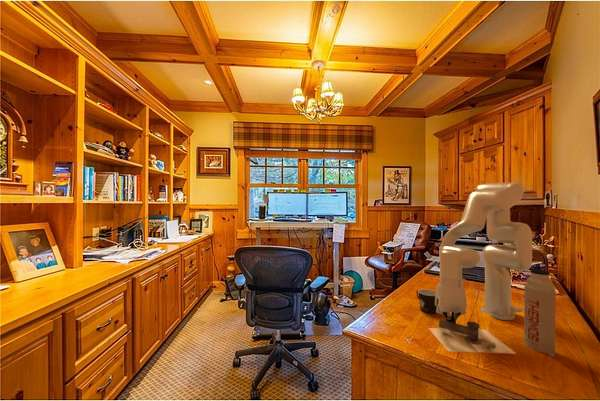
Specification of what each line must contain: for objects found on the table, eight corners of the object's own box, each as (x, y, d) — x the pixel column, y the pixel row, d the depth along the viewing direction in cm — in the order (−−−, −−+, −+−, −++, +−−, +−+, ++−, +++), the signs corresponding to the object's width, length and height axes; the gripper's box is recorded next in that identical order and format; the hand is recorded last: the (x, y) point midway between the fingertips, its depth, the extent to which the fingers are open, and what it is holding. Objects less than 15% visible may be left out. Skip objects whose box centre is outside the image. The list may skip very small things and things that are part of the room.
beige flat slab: (486, 333, 104) (486, 328, 104) (516, 358, 88) (516, 351, 88) (428, 331, 105) (428, 326, 105) (448, 355, 90) (448, 349, 90)
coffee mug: (441, 319, 116) (441, 296, 116) (420, 317, 118) (420, 295, 118) (433, 308, 128) (434, 287, 128) (414, 306, 130) (414, 286, 129)
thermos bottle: (539, 358, 88) (540, 273, 88) (518, 344, 96) (518, 267, 96) (561, 356, 89) (562, 273, 89) (538, 343, 97) (538, 267, 96)
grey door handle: (495, 343, 93) (496, 327, 93) (494, 347, 90) (494, 331, 90) (440, 327, 104) (440, 313, 104) (438, 330, 102) (438, 316, 102)
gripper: (465, 278, 106) (465, 324, 106) (427, 278, 107) (427, 323, 107) (476, 285, 99) (476, 334, 99) (435, 284, 100) (435, 333, 100)
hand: (450, 328), depth 103 cm, fingers closed
